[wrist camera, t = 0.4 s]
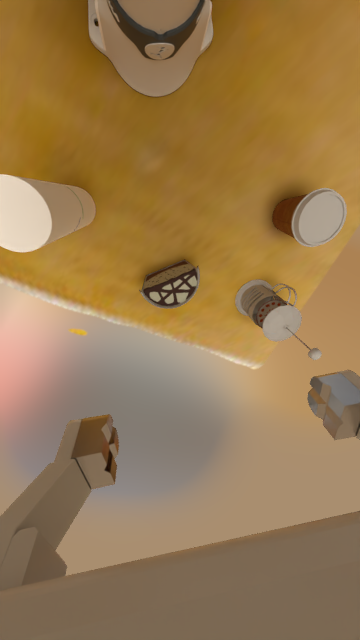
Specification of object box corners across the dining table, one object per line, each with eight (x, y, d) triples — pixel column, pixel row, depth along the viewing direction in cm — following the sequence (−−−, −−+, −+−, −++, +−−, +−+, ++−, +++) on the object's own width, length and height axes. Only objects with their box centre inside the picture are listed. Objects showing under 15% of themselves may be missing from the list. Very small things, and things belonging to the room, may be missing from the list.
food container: (151, 301, 57) (152, 320, 48) (139, 277, 54) (138, 293, 45) (199, 281, 56) (209, 297, 47) (191, 256, 53) (200, 268, 45)
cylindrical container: (51, 214, 46) (-35, 230, 24) (63, 177, 44) (-19, 157, 22) (87, 234, 49) (39, 264, 27) (101, 199, 46) (61, 201, 24)
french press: (227, 307, 60) (275, 371, 38) (253, 265, 56) (324, 309, 34) (258, 321, 63) (319, 388, 41) (285, 282, 59) (369, 333, 37)
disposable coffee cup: (315, 197, 51) (360, 197, 41) (295, 242, 55) (330, 253, 44) (276, 183, 49) (312, 180, 38) (258, 232, 53) (286, 240, 42)
